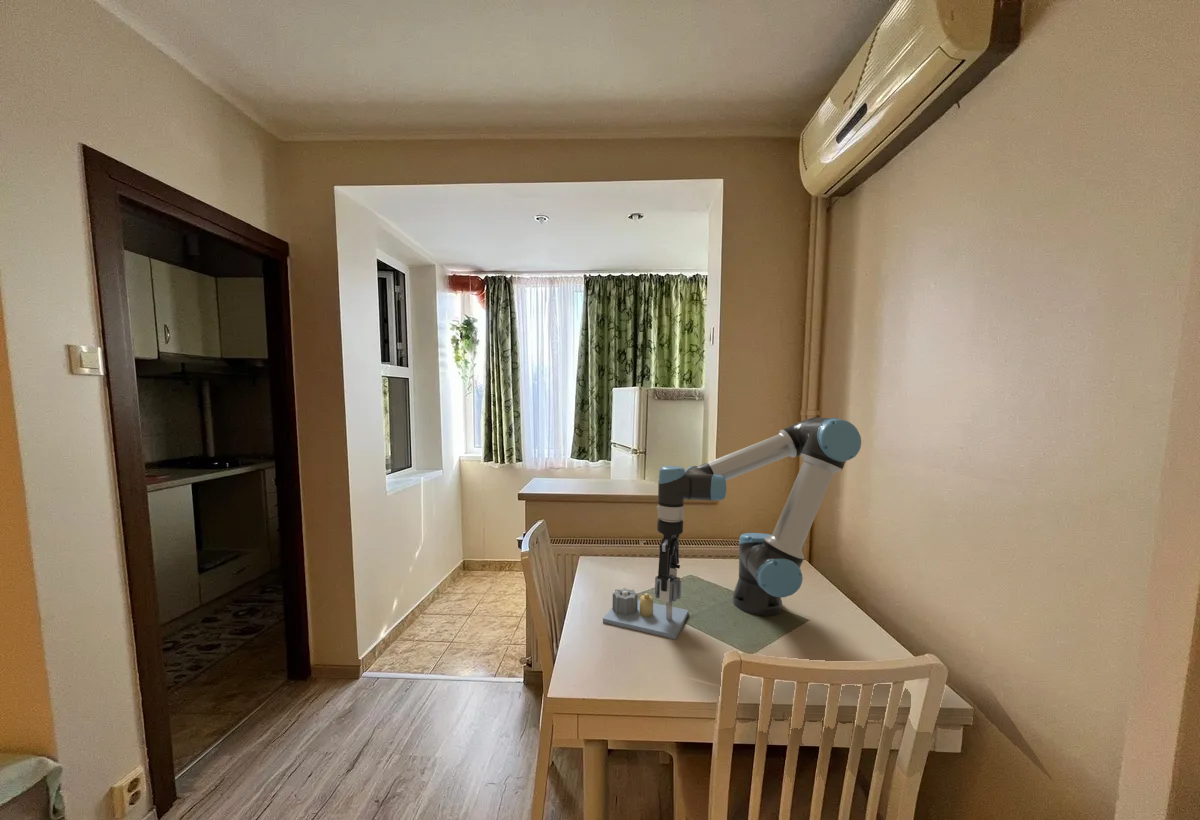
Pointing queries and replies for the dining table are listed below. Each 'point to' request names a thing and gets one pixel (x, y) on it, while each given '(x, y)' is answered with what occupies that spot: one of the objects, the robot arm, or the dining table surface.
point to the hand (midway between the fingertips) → (668, 595)
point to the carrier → (645, 614)
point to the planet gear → (674, 588)
